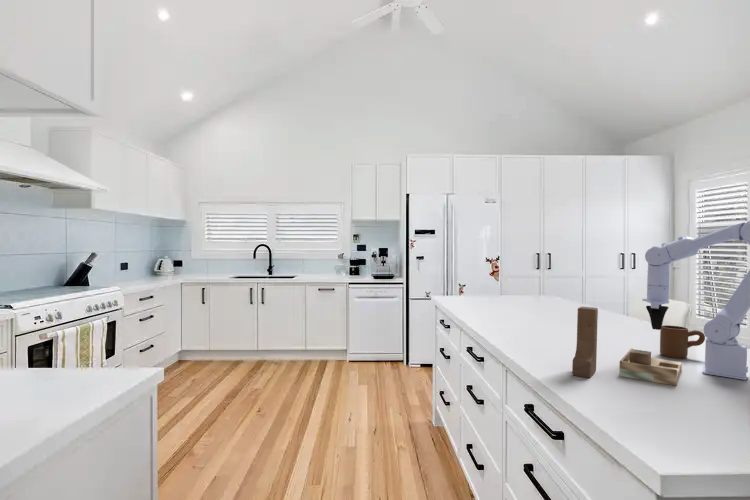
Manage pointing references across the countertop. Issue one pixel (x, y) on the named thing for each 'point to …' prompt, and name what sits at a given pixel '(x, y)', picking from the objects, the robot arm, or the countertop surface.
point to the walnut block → (640, 357)
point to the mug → (677, 341)
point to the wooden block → (586, 342)
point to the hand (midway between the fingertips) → (656, 329)
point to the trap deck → (651, 370)
